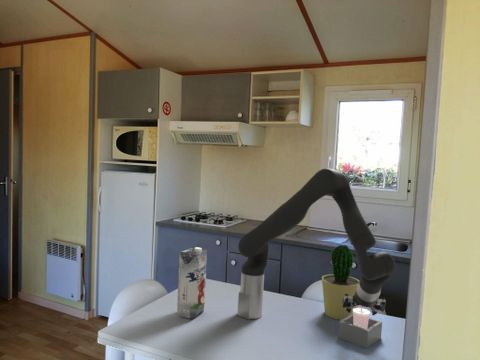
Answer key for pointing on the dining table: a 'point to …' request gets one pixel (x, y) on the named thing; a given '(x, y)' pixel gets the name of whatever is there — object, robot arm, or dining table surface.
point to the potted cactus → (339, 283)
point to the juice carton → (191, 282)
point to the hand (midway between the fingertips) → (360, 311)
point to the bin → (360, 331)
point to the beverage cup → (361, 317)
